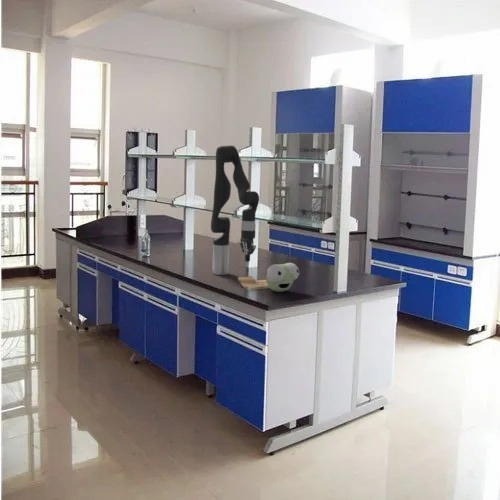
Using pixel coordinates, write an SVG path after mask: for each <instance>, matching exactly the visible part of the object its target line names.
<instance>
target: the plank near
mask: <svg viewBox="0 0 500 500" xmlns="http://www.w3.org/2000/svg"><path fill="white" fill-rule="evenodd" d="M237 280H238V282H239V283H240V284H241V285H242V287H243V288H244V289H245V287H246V286H253V285H259V284H258V283H257V282H256V281H257V280H256V279H255V278H254V276H253V275H250V276H238V277H237Z"/></svg>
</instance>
